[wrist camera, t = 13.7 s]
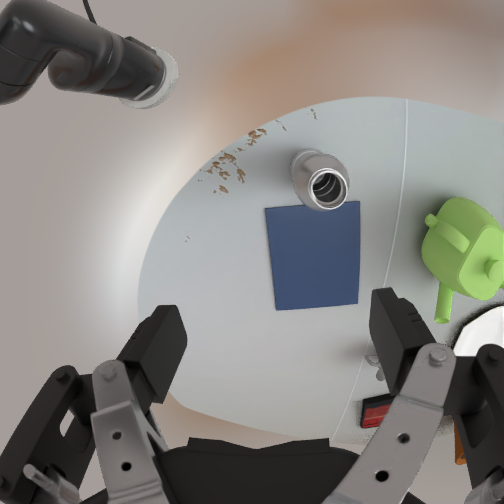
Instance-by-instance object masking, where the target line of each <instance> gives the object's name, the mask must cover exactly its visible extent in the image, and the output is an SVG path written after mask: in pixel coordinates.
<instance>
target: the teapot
mask: <svg viewBox="0 0 504 504" xmlns="http://www.w3.org/2000/svg"><path fill="white" fill-rule="evenodd" d="M425 223H426V225H427V226H429V227H430V228H429V230H428V232H427V234H426V236H425V238H424V241H423V243H422V249H421V253H422V259H423V261H424V264H425V265H426V267H427V268H428V269H429V271H430V272H431V273H432V274H433V275H434V276H435V277H436V278H437V279H438V280H439V281H440V283H439V292H438V300H437V307H436V313H435V319H434V321H435V322H437V323H441V324H445V323H448V322H449V319H450V312H451V305H452V296H453V290H454V291H456V292H458V293H460V294H463V295H466V296H469V297H472V298H475V299H479V300H489V299H491V298H492V297H493V296H494V294H495V293H496V292H497V290H498V289H499V288H502V289H504V230H503V229H502V227H501V226H500V224H499V223H498V222H497V220H496V219H495V218H494V217H493V216H492V215H491V214H490V213H489V212H488V211H486V210H485V209H484V208H482V207H481V206H480V205H478V204H476V203H474V202H472V201H470V200H468V199H465V198H462V197H454V198H451V199H450V200H448V201H447V202H445V203H444V205H443V206H442V207H441V209H440V210H439V212H438V214H437V215H436V217H435V216H434V215H432V214H428V215H427V216H426V218H425Z"/></svg>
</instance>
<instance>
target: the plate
mask: <svg viewBox="0 0 504 504" xmlns="http://www.w3.org/2000/svg"><path fill="white" fill-rule="evenodd" d="M485 344H497V345H499V346H501V347H503V348H504V306H500V307H496V308H493V309H491V310H489V311H487V312H485V313H484V314H482V315H480V316H479V317H477V318H476V319H474V320H473V321H471V322H470V323H469V324H467V325H466V326H464V327H463V329H462V331H461V333H460V335H459V337H458V340H457V342H456V344H455V346H454V349H453V352H454V353H455V355H456V356H476V354H477V352H478V350H479V348H480V347H481V346H483V345H485Z"/></svg>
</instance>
